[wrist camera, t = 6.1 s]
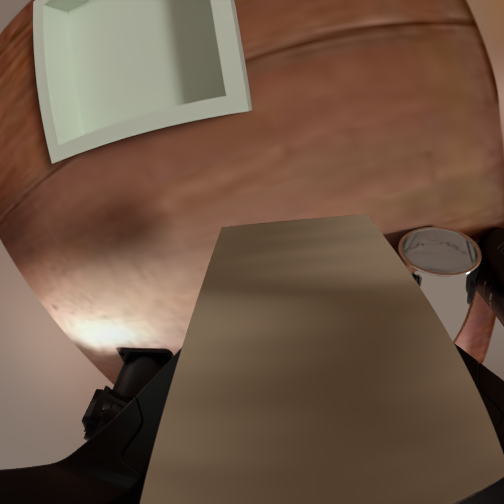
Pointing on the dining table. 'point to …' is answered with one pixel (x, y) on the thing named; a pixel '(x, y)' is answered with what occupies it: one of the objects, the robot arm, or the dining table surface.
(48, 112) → the bin
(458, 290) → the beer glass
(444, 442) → the birch block
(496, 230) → the supplement bottle
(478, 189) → the dining table surface
